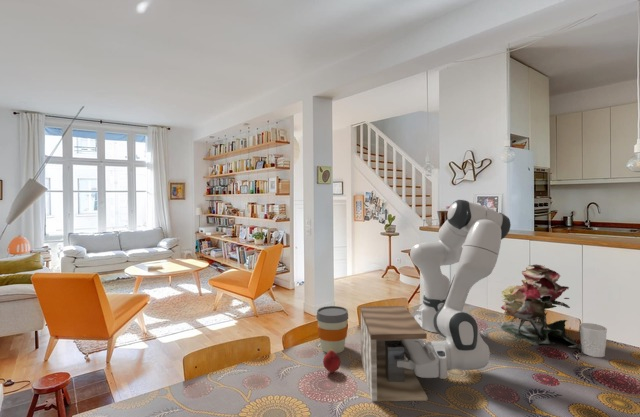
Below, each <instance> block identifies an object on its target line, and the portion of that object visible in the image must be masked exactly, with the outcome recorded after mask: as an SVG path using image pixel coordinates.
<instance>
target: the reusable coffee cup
mask: <svg viewBox="0 0 640 417" xmlns="http://www.w3.org/2000/svg"><path fill="white" fill-rule="evenodd" d="M316 320H317V324H316V325H317V326H316V327H317V332H318V333H317V334H318V338H319V340H320V348H321V351H323V352H324V353H326V354H327V353H328V352H330V349H332V350H333V351H334V352H335V353H337V354H340V353H342V352H343V351H345V345H346V339H347V335H348V327H349V324H348V320H349V312H348V309H347V308H346V307H344V306H339V305H327V306H323V307H319V308H318V309H317V310H316Z"/></svg>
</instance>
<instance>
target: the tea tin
mask: <svg viewBox="0 0 640 417" xmlns="http://www.w3.org/2000/svg"><path fill="white" fill-rule="evenodd" d="M404 351H405V347H404V345H403V344H402V342H401V340H397V341H385V366H386V376H387V379H388V382H405V379H404V367H397V365H396V360H397V359H402V361H404Z"/></svg>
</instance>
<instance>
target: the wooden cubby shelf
mask: <svg viewBox="0 0 640 417" xmlns="http://www.w3.org/2000/svg"><path fill="white" fill-rule="evenodd" d="M427 337H428V336H427V331H426V330H424V329H422V327H421V326H420V325H419V324H418V322H417V321H416V320H415V318H414V315H412V313H411V312H410V311H409V310H408V309H407V307H406V306H405V305H391V306H390V305H386V306H385V305H384V306H383V305H381V306H380V305H379V306H376V305H375V306H360V358H361V364H362V367H363V372H364V376H365V380H366V384H367V387H368V391H369V395H370V400H371V402H407V401H408V402H410V401H411V402H412V401H415V402H416V401H417V402H418V401H421V402H423V401H428V395H427V394H426V392H425V390H424V388H423V386H422V385H421V383H420V381H419V380H418V376H416V375H415V373H414V371H413V369H407V368H404V379H405V382H388V379H387V376H386V366H385V341H397V340H402V339H421V340H427ZM404 361H408V360H407V358H406V356H405V354H404Z"/></svg>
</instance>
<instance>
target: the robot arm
mask: <svg viewBox="0 0 640 417" xmlns="http://www.w3.org/2000/svg"><path fill="white" fill-rule="evenodd" d="M511 225H512V224H511V221H510V218H509V217H508V216H507V215H505V214H504V213H502V212H498V211H496V210H494V209H492V208H490V207H487V206H486V205H485V206H484V205H482V204H481V205H480V204H479V203H478V204H477V203H474V202H470V201H468V200H466V199H465V200H464V199H457V200H455V201H453V202H452V203H451V205H450V206H449V208H448V209H447V214H446V220H445V221H444V223H443V224H442V225H441V226H440V228H439V230H438V238H439V240H435V241H423V242H420V243H417V244H414V245H412V247H411V248H410V252H409V258H410V260H411V262H412V264H413V265H414V266H416V267H417V268H418V269H419V271H420V274H422V278H423V287H424V288H423V289H424V291H423V292H424V294H423V297H422V304H421V305H420V306H419V307H418V309H416V310H415V313H416V314H415V315H413V317H414V318H415V320H416V321H417V322H418V324H419V325H420V326H421V327H422V329H423V330H424V331H426V332H427V331H428V332H431V333H436V334H437V333H438V335H440V337H442V338H445V340H429V341H428V342H425V341H424V339H402V340H401V342H402V344H403V345H404V347H405V351H404V354H405V356H406V359H407V361H402V359H397V360H396V365H397V367H404V368H407V369H412V370H413V372H414V374H415V375H416V377H417V378H418V377H419V378H423V379H425V378H426V379H432V378H439V379H447V376H448V372H449V371H452V370H458V371H474V370H481V369H484V368H485V367H487V366H488V365H489V363H490V359H491V352H490V347H489V345H488V343H486V342H485V340H484V339H483V338H482V335H481V334H480V331H479V329H478V323H477V320H476V319H475V318H474V317H473V315H471V314H469V313H468V312H464V311H463V309H464V307H465V304H466V300H467V298H468V295H469V293H470V290H471V289H472V287H473V286H475V285H476V284H477V283H479V282H480V281H481V280H483V279H486V278H487V277H488V276H490V275H491V274H492V273H493V270H494V269H495V267H496V264H497V262H498V258H499V254H500V249H501V243H502V240H503V239H505V238H506V237H507V235H508V234H509V232H510V231H511V230H510V229H511ZM454 264H457V267H456V270H455V273H454V274H453V275H454V276H453V278H452V280H450V279H449V278H448V276H446V275H445V274H443V273H442V270H441V267H442V266H450V265H451V266H452V265H454Z"/></svg>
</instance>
